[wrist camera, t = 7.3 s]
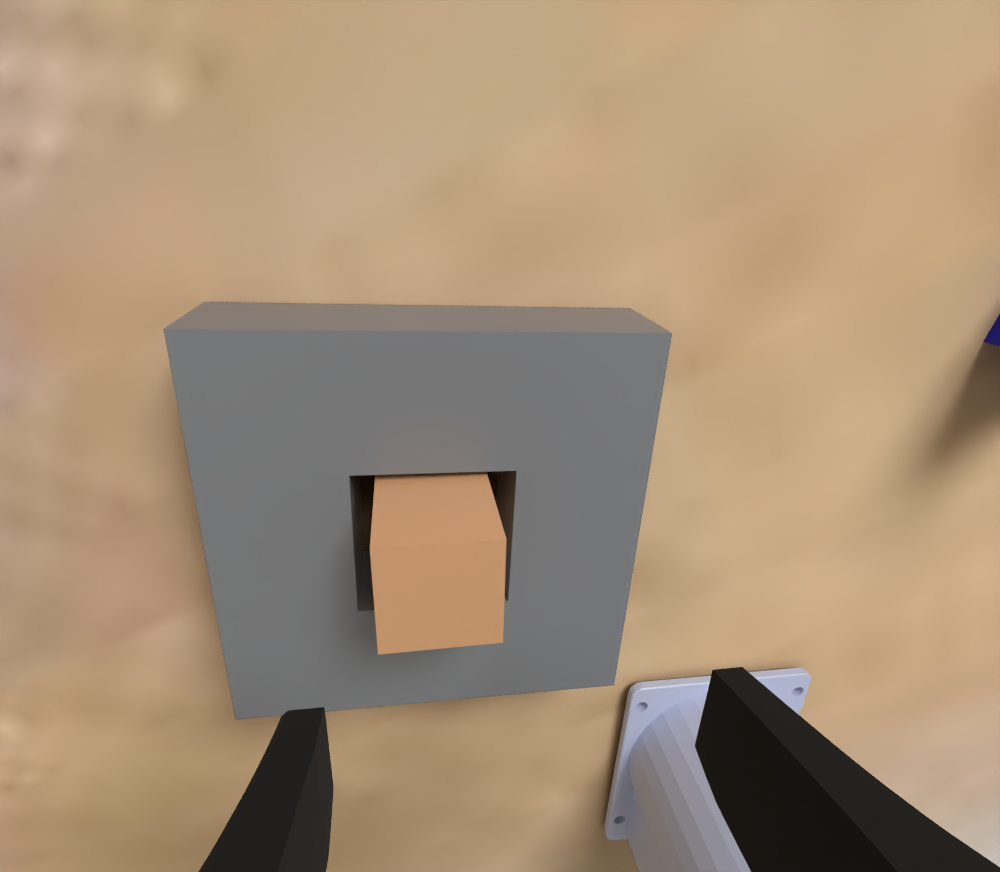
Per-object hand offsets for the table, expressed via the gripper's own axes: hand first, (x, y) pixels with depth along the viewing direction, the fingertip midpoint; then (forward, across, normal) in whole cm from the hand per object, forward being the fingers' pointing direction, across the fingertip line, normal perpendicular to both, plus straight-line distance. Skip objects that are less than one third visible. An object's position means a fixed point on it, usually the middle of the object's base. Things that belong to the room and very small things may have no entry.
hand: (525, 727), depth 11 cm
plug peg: (+9, +1, 0) cm, 10 cm away
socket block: (+9, +1, 0) cm, 9 cm away
